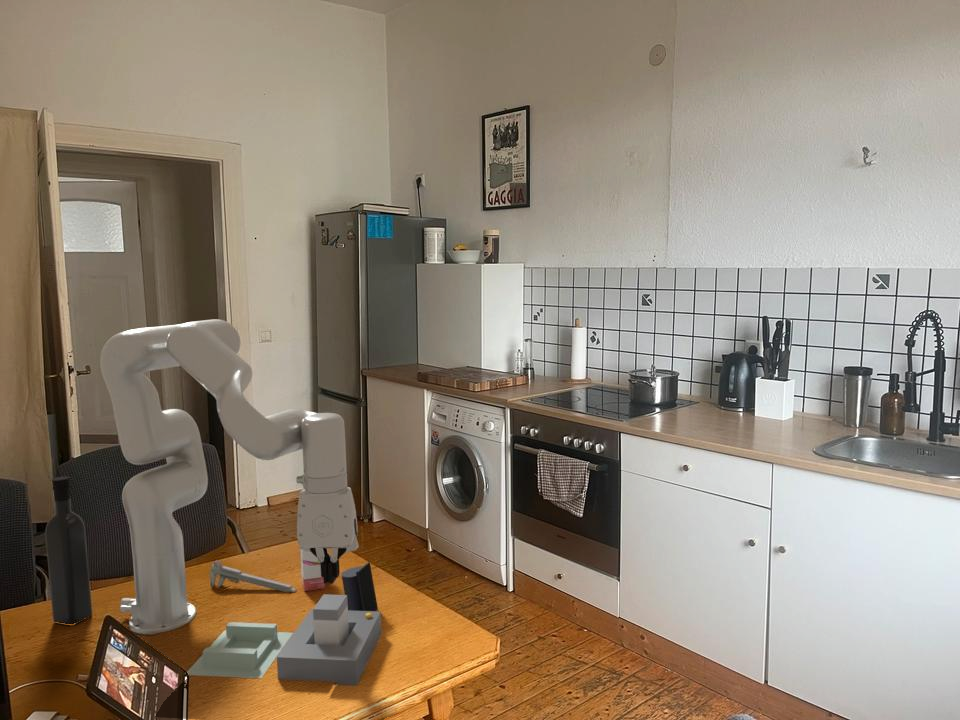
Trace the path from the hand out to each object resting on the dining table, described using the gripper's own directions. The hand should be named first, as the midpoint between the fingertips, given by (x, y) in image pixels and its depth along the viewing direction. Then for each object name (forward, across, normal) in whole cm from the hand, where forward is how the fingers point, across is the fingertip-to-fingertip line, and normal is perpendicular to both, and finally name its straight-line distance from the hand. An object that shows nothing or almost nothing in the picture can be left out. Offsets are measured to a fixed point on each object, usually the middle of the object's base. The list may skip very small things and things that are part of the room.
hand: (330, 580), depth 134 cm
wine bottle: (+14, -58, +10) cm, 61 cm away
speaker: (+15, 0, +18) cm, 24 cm away
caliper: (+15, -27, +27) cm, 41 cm away
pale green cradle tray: (+15, -17, -1) cm, 23 cm away
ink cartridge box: (+15, -14, +31) cm, 37 cm away
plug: (+14, 0, 0) cm, 14 cm away
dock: (+15, 0, 0) cm, 15 cm away
